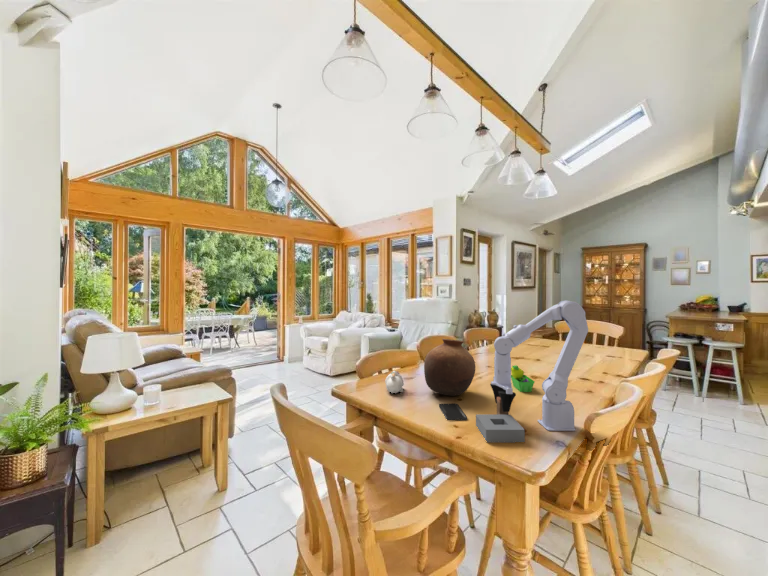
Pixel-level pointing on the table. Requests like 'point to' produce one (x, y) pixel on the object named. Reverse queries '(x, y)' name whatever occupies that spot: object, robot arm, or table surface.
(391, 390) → the white rounded piece
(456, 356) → the pottery
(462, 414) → the phone
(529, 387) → the fruit basket
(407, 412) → the table surface
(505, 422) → the socket block
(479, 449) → the table surface
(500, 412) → the peg
